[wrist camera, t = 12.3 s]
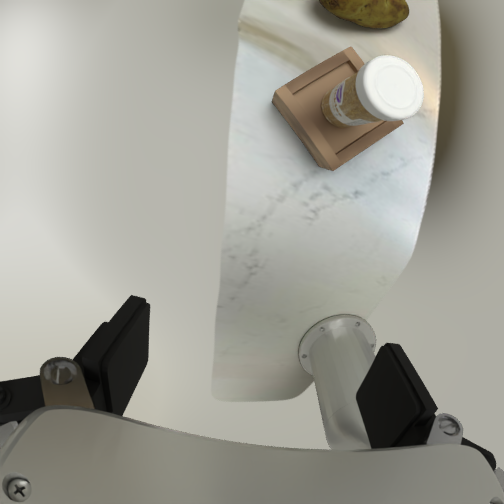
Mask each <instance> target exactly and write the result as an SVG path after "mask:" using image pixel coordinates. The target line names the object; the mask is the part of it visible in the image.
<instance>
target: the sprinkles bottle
mask: <svg viewBox="0 0 504 504" xmlns="http://www.w3.org/2000/svg"><path fill="white" fill-rule="evenodd" d="M423 97H424V92H423V86H422V82H421V80H420V77H419V76H418V74H417V72H416V71H415V70H414V69H413V67H412V66H411V65H410V64H408V63H407V62H406V61H404V60H402V59H401V58H398V57H396V56H391V55H382V56H378V57H376V58H374V59H372V60H370V61H369V62H367V63H366V64H364V65H363V66H362V67H361V69H360V70H359V71H358V72H357V73H356V74H354V75H353V76H351V77H349V78H347V79H345V80H344V81H342V82H341V83H340V84H338V85H337V86H336V87H335V88H334V89H331V90H329V91H328V92H327V93H326V94H325V95H324V97H323V100H322V104H321V107H322V112H323V114H324V116H325V118H326V119H327V120H328V121H329V122H330V123H331V124H333V125H334V126H337V127H340V128H349V127H352V126H357V125H362V124H367V123H373V122H379V121H382V120H384V121H398V120H404V119H407V118H410V117H412V116H413V115H415V114H416V113H417V112H418V110H419V109H420V107H421V105H422V102H423Z"/></svg>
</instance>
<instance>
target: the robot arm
mask: <svg viewBox="0 0 504 504" xmlns="http://www.w3.org/2000/svg"><path fill="white" fill-rule="evenodd" d="M149 318H150V304H149V303H146V299H145V298H140V297H137V296H133V295H131V296H130V297H129V298H128V299H127V301H126V302H125V303H124V304H123V305H122V307H121V308H120V309H119V310H118V311H117V313H116V314H115V315H114V316H113V317H112V319H111V320H110V321H109V322H104V323H102V324H101V325H100V326H99V328H98V329H97V330H96V331H95V333H94V334H93V335H92V336H91V337H90V339H89V340H88V341H87V342H86V344H85V345H84V346H83V347H82V349H81V350H80V351H79V352H78V354H77V355H76V356H75V357H74V359H73V360H72V359H70V358H66V357H55V358H51V359H49V360H47V361H46V362H45V363H44V364H43V365H42V366H41V368H40V375H38V376H33V377H27V378H21V379H14V380H8V381H2V382H0V504H504V471H503V470H502V469H500V468H497V469H495V468H496V461H495V458H494V456H493V454H492V453H491V452H489V451H487V450H486V449H483V448H482V447H480V446H478V445H476V444H474V443H472V442H471V441H469V440H467V439H465V438H463V437H462V435H463V427H462V424H461V423H460V421H459V420H458V419H457V418H456V417H454V416H452V415H450V414H446V413H442V414H439V415H437V416H435V414H434V413H435V412H436V411H437V409H438V408H437V406H436V404H435V402H434V401H433V399H432V397H431V396H430V394H429V392H428V390H427V389H426V387H425V385H424V383H423V382H422V380H421V378H420V377H419V375H418V373H417V372H416V370H415V368H414V367H413V365H412V364H411V362H410V360H409V359H408V357H407V355H406V354H405V352H404V351H403V349H402V347H401V346H400V345H399V344H393V343H386V344H385V345H384V346H381V348H380V349H379V351H378V353H377V355H376V357H375V355H374V350H375V347H376V336H375V333H374V331H373V329H372V328H371V326H370V325H369V323H367V321H365V320H364V319H362V318H360V317H357V316H353V315H338V316H333V317H330V318H327V319H325V320H323V321H321V322H319V323H317V324H316V325H315V326H313V327H312V328H311V329H310V330H309V331H308V332H307V333H306V334H305V336H304V337H303V339H302V341H301V343H300V346H299V359H300V363H301V365H302V367H303V369H304V370H305V371H306V372H307V373H309V374H310V375H312V376H313V377H314V381H315V386H316V391H317V395H318V400H319V405H320V410H321V415H322V420H323V425H324V429H325V435H326V440H327V442H328V445H329V447H330V448H331V450H324V449H323V450H322V449H298V448H284V447H273V446H262V445H255V444H247V443H240V442H233V441H226V440H220V439H214V438H209V437H204V436H199V435H194V434H189V433H185V432H181V431H177V430H172V429H168V428H164V427H160V426H156V425H152V424H148V423H145V422H141V421H138V420H134V419H131V418H127V417H123V416H122V415H123V413H124V411H125V409H126V407H127V405H128V403H129V401H130V398H131V396H132V394H133V392H134V390H135V388H136V386H137V384H138V382H139V380H140V378H141V376H142V373H143V371H144V369H145V367H146V365H147V362H148V349H149Z"/></svg>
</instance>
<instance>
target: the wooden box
mask: <svg viewBox="0 0 504 504" xmlns="http://www.w3.org/2000/svg"><path fill="white" fill-rule="evenodd" d="M363 65H364V62H363V61H362V60H361V58H360V57H359V56H358V54H357V53H356V52H355V51H354V49H353V48H352V47H349V48H347V49H345V50H343V51H342V52H340V53H338V54H336V55H334V56H332V57H331V58H329V59H327V60H325V61H323V62H322V63H320V64H318V65H317V66H315V67H313V68H311V69H310V70H308V71H306V72H305V73H303V74H301V75H300V76H298V77H296V78H295V79H293V80H292V81H290V82H288V83H287V84H285V85H284V86H282V87H281V88H279V89H277V90H276V91H275V93H274V96H273V99H272V103H273V104H274V105H275V106H276V108H277V109H278V110H279V112H280V113H281V114H282V116H283V117H284V118H285V119H286V121H287V122H288V123H289V125H290V126H291V128H292V129H293V130H294V132H295V133H296V134H297V136H298V137H299V138H300V140H301V141H302V143H303V144H304V145H305V147H306V148H307V150H308V151H309V152H310V154H311V155H312V157H313V158H314V160H315V161H316V163H317V164H318V166H319V167H322V168H325V169H328V170H331V171H334V170H335V169H337V168H338V167H340V166H341V165H343V164H344V163H346V162H347V161H349V160H350V159H352V158H353V157H354V156H356V155H357V154H359V153H360V152H362V151H363V150H365V149H366V148H368V147H369V146H371V145H372V144H374V143H375V142H377V141H378V140H380V139H381V138H383V137H384V136H386V135H387V134H389V133H390V132H392V131H393V130H395V129H396V128H398V127H399V126H401V125H402V124H404V123H403V121H402V120H398V121H384V120H382V121H379V122H373V123H367V124H362V125H357V126H352V127H349V128H340V127H337V126H334V125H333V124H331V123H330V122H329V121H328V120H327V119H326V118H325V116H324V114H323V112H322V107H321V104H322V100H323V97H324V95H325V94H326V93H327V92H328V91H329V90H331V89H334V88H335V87H336V86H337V85H338V84H340V83H341V82H342V81H344V80H345V79H347V78H349V77H351V76H353V75H354V74H356V73H357V72H358V71H359V70H360V69H361V67H362V66H363Z"/></svg>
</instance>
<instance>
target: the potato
mask: <svg viewBox="0 0 504 504" xmlns="http://www.w3.org/2000/svg"><path fill="white" fill-rule="evenodd" d="M319 1H320V3H321V4H322V5H323V6H324V7H325V8H326V9H327V10H328V11H330V12H331V13H333V14H334V15H336V16H337V17H338V18H341V19H345V20H348V21H351V22H354V23H356V24H358V25H361V26H364V27H369V28H388V27H392V26H394V25H396V24H398V23H400V22H402V21H403V20H405V19H406V18H407V17H408V15H409V7H408V5H407V3H406V1H405V0H319Z"/></svg>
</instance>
